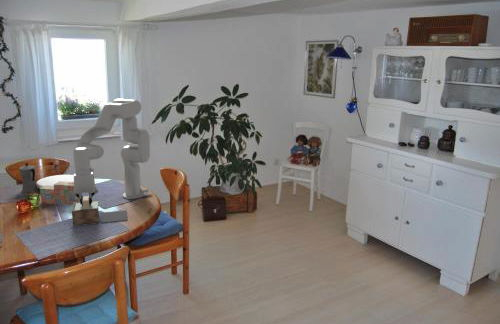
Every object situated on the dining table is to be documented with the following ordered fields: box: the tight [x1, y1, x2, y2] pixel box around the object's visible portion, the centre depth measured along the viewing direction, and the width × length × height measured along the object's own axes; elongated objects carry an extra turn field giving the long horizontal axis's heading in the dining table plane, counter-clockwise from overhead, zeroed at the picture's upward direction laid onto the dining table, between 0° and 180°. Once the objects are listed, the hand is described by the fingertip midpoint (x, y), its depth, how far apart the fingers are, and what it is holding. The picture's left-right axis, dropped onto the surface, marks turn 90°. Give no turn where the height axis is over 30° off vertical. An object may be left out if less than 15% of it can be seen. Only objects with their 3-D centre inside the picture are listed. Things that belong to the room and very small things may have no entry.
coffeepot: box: [18, 162, 39, 193], centre depth 260 cm, size 15×9×18 cm, turn 53°
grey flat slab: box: [100, 209, 128, 224], centre depth 223 cm, size 13×14×1 cm
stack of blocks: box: [39, 181, 80, 206], centre depth 241 cm, size 21×6×12 cm, turn 82°
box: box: [71, 199, 100, 227], centre depth 218 cm, size 12×13×8 cm
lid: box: [74, 195, 99, 210], centre depth 216 cm, size 11×11×5 cm
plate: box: [36, 174, 74, 189], centre depth 270 cm, size 28×6×27 cm
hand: (86, 204), depth 217 cm, fingers closed on lid, 3 cm apart
